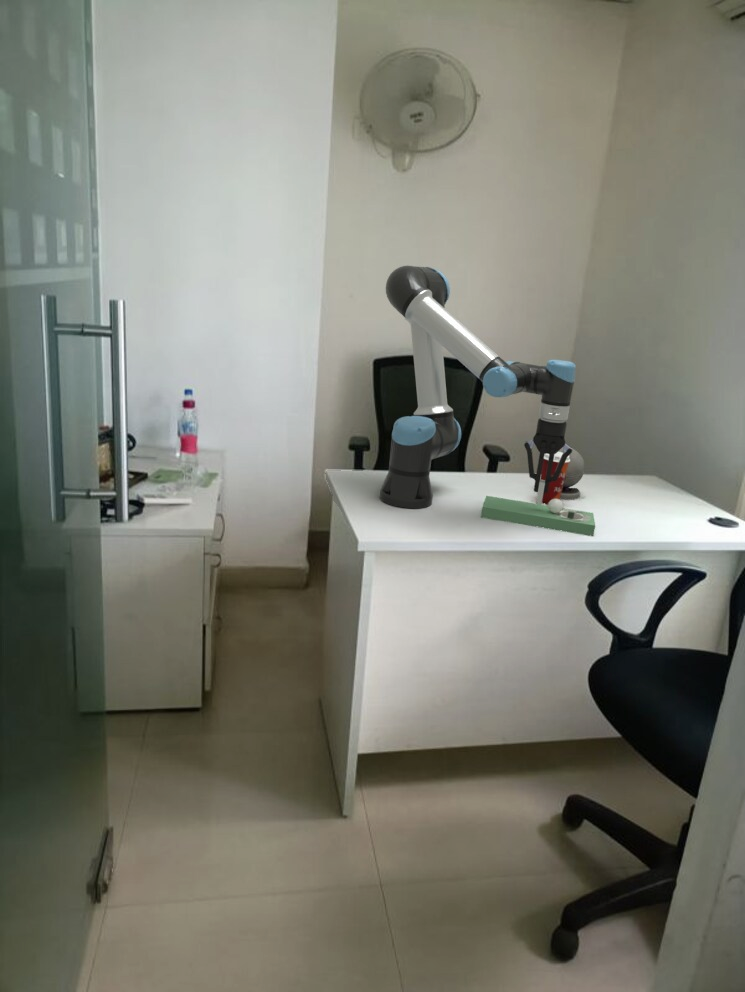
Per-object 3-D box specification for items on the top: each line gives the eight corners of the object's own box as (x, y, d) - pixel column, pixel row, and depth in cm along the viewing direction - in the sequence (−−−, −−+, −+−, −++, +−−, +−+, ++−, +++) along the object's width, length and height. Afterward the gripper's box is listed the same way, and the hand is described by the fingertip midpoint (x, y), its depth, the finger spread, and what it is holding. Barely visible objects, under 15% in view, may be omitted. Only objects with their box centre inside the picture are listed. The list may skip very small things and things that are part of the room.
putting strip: (481, 517, 194) (482, 506, 193) (484, 505, 205) (486, 495, 204) (593, 536, 188) (595, 525, 187) (591, 522, 199) (593, 512, 198)
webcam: (584, 493, 226) (593, 448, 221) (571, 502, 215) (581, 455, 211) (545, 484, 232) (553, 440, 227) (531, 492, 222) (539, 446, 217)
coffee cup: (562, 507, 209) (571, 459, 205) (534, 503, 211) (543, 455, 206) (561, 499, 217) (570, 452, 213) (534, 495, 219) (542, 448, 214)
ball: (552, 517, 193) (545, 505, 193) (552, 513, 197) (545, 501, 196) (565, 510, 192) (558, 498, 191) (565, 506, 195) (558, 494, 195)
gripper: (527, 418, 186) (514, 503, 193) (578, 425, 183) (562, 511, 190) (528, 414, 193) (515, 496, 200) (577, 420, 190) (562, 503, 197)
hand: (538, 503), depth 195 cm, fingers closed
